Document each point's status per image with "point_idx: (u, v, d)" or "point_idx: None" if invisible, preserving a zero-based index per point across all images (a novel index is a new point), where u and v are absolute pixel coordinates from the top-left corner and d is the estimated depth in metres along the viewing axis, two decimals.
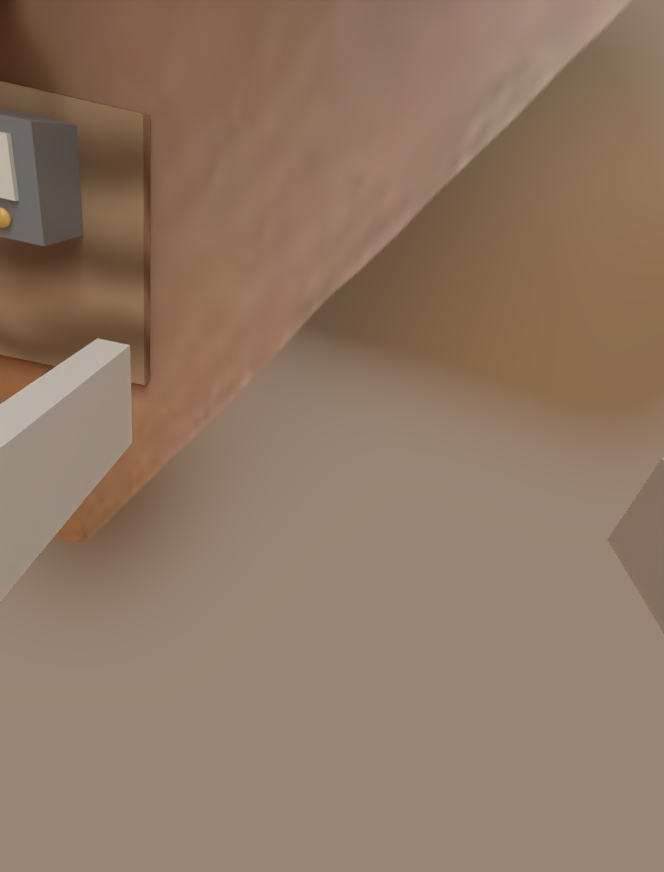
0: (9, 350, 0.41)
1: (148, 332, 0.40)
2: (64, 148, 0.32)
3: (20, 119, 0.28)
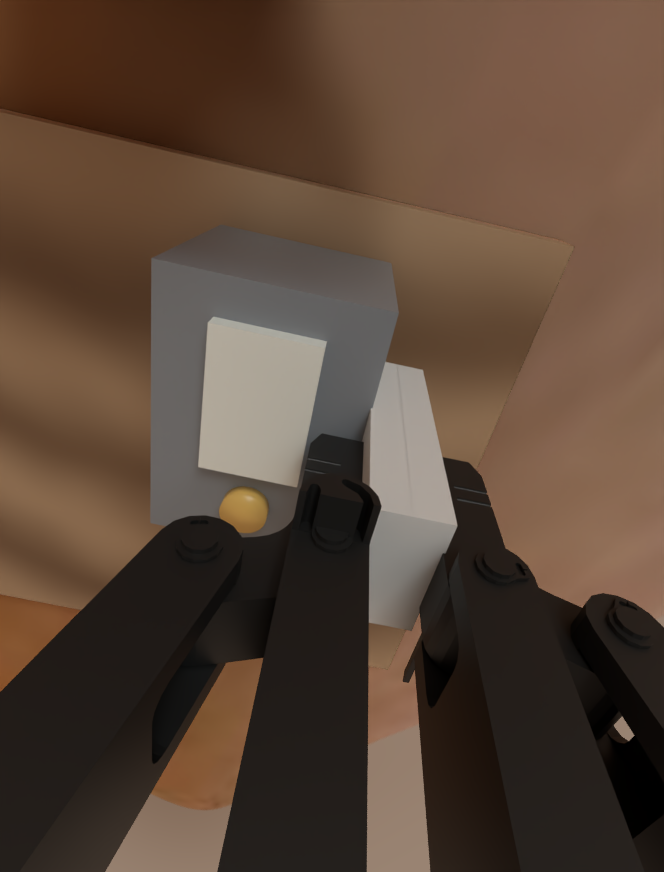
0: None
1: None
2: None
3: (366, 307, 0.10)
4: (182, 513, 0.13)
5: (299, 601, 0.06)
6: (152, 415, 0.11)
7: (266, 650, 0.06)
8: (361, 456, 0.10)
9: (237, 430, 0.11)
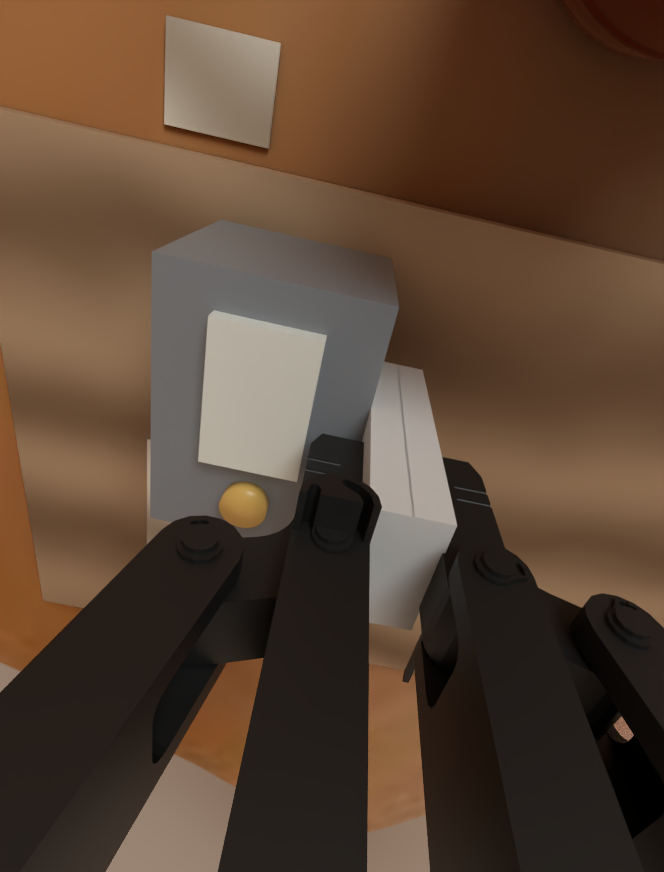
0: (381, 658, 0.23)
1: None
2: None
3: (366, 300, 0.10)
4: (182, 507, 0.13)
5: (299, 601, 0.06)
6: (152, 409, 0.11)
7: (266, 650, 0.06)
8: (361, 456, 0.10)
9: (237, 424, 0.11)
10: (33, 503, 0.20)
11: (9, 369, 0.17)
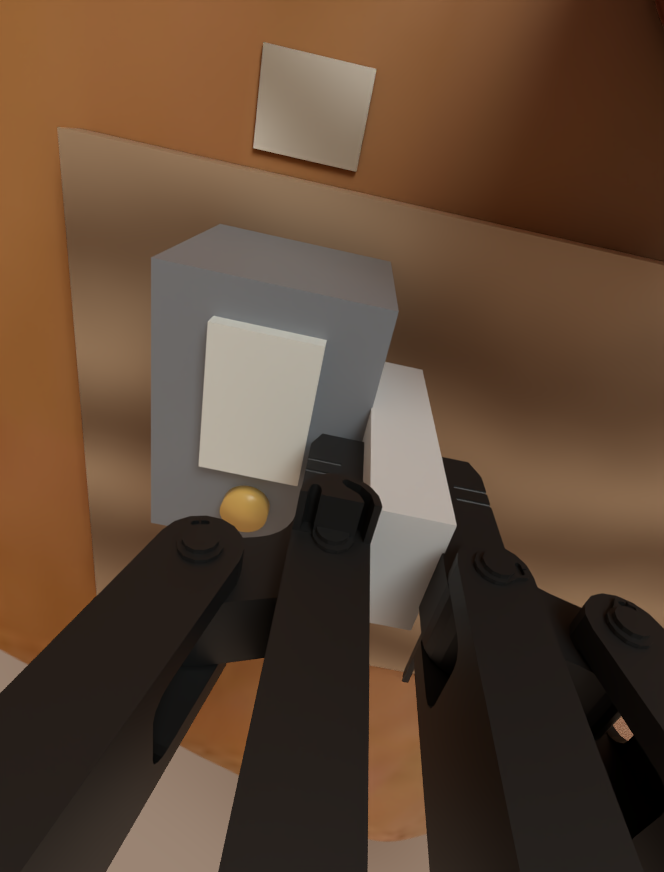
0: None
1: None
2: None
3: (366, 305, 0.10)
4: (183, 512, 0.13)
5: (300, 601, 0.06)
6: (152, 414, 0.11)
7: (267, 650, 0.06)
8: (361, 456, 0.10)
9: (237, 429, 0.11)
10: (96, 518, 0.20)
11: (83, 388, 0.17)
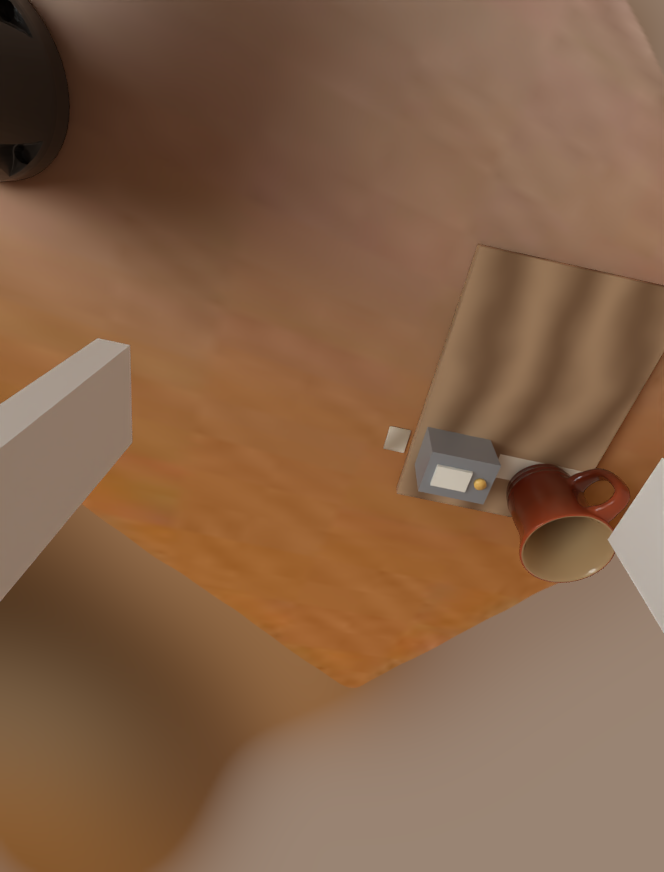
0: (625, 406, 0.49)
1: (643, 281, 0.44)
2: (442, 437, 0.50)
3: (430, 456, 0.48)
4: (480, 496, 0.50)
5: None
6: (451, 497, 0.50)
7: None
8: None
9: (455, 483, 0.49)
10: None
11: (461, 505, 0.57)
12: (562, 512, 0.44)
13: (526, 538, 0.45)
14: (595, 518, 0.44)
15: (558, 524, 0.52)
